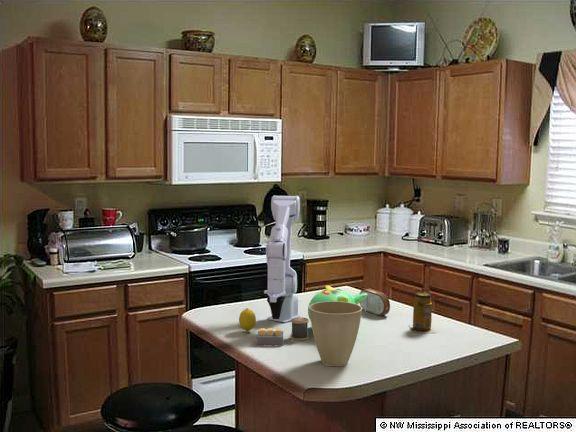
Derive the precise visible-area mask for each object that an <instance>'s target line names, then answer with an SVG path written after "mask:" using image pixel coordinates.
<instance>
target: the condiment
mask: <svg viewBox="0 0 576 432" xmlns="http://www.w3.org/2000/svg"><path fill="white" fill-rule="evenodd" d="M412 309H413V310H412V313H413V314H412V324H410V325H409V324H408V327H409V328H410V329H411V330H412V331H413V333H417V334H431V333H432V334H436V333H437V332H436V331H435V330H434V329H433V328H432V321H433V320H432V319H433V318H432V317H433V316H432V313H433V312H432V310H433V303H432V295H431V294H430V293H428V292H417V293H415V294H414V301H413V308H412Z"/></svg>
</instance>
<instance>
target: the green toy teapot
mask: <svg viewBox="0 0 576 432" xmlns="http://www.w3.org/2000/svg"><path fill="white" fill-rule="evenodd" d="M324 287H325V289H323V290H320V291H319V292H317V293H316V294H314V295H313V297H312V298H311V300H310V301H309V303H308V308H307V317H308V320H309V322H311V318H310V310H309V306H310V305H312V304H314V303H318V302H326V301H340V302H349V303H354V304H357V305H360V302H361V301H362V300H364V299H365V298H366V297H367V294H366V293H363V294H360V293H359V294H353V295H352V294H351V293H350V292H348V291H345V290H343V289H340V288H335V287H332V286H330V285H325V286H324Z"/></svg>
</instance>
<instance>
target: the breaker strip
mask: <svg viewBox="0 0 576 432" xmlns="http://www.w3.org/2000/svg"><path fill="white" fill-rule="evenodd" d="M256 335H257V336H256V346H261V347H262V345H263V346H264V345H272V346H271V347H273V346H274V347H275V345H277V346H276V347H279V346H280V347H281V346H282V347H283V346H284V331H282V328H281V327H279V328H278V327H276V328H275V331H274V328H272V327H270V328H267V331H266V328H264V327H261V328H259V330H258V331H257V334H256Z"/></svg>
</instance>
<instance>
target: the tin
mask: <svg viewBox="0 0 576 432" xmlns="http://www.w3.org/2000/svg"><path fill="white" fill-rule="evenodd" d="M363 293H366V294H367V297H366V298H365V299H364V300H362V301H361V302H360V303H359V305H360V306H361V307H362V311H365V312H368V313H370V314H374V315H377V316H380V317H381V316H384V315H388V314H389V312H390V310H391V304H390V299H389V298H388V296H387V295H386V293H385V292H381V291H379V290H375V289H373V288H366V289H363V290H361V291H360V292H359V294H363Z"/></svg>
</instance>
